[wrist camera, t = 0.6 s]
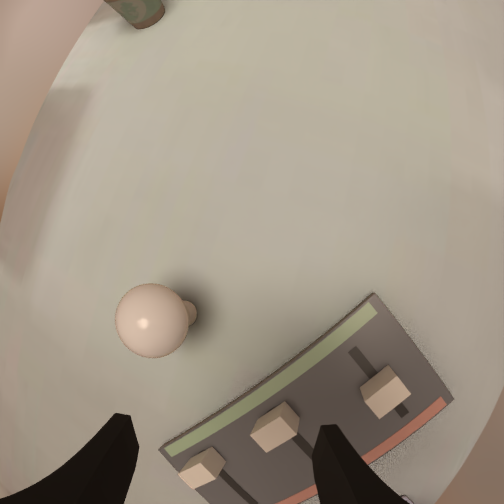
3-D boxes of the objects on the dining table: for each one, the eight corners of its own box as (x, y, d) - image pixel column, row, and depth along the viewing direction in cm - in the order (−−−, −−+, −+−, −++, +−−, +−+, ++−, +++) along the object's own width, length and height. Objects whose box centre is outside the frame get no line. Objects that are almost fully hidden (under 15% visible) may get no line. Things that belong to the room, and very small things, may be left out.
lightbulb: (153, 324, 34) (91, 339, 23) (174, 273, 34) (114, 269, 23) (202, 351, 33) (152, 380, 22) (225, 298, 33) (180, 307, 22)
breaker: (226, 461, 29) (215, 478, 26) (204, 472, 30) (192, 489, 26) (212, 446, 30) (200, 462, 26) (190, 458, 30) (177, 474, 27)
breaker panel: (449, 394, 27) (454, 399, 25) (241, 521, 30) (238, 529, 28) (372, 292, 30) (375, 293, 28) (163, 444, 33) (157, 450, 31)
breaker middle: (299, 417, 28) (296, 434, 25) (272, 435, 29) (266, 452, 25) (284, 401, 29) (280, 416, 25) (257, 419, 29) (249, 435, 25)
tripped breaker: (401, 381, 27) (411, 394, 23) (373, 403, 27) (379, 419, 23) (388, 364, 27) (396, 375, 23) (359, 387, 28) (364, 401, 24)
